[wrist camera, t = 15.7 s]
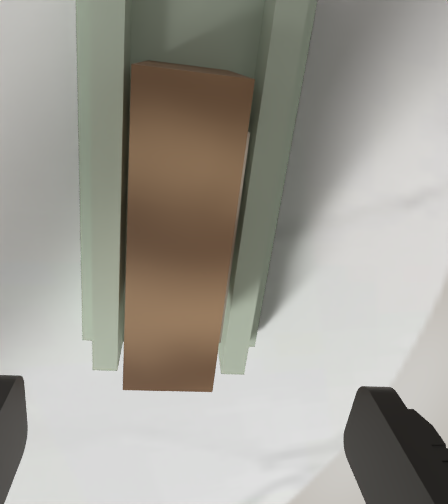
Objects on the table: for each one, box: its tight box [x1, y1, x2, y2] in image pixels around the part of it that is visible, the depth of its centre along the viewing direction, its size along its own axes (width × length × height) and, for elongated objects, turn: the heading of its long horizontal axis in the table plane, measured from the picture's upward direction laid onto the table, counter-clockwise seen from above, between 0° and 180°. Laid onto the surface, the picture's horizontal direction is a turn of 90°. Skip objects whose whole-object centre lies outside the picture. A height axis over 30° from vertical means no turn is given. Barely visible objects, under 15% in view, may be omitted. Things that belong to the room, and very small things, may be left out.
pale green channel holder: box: [76, 0, 317, 375], centre depth 25 cm, size 22×12×4 cm, turn 173°
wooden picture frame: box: [123, 60, 255, 392], centre depth 21 cm, size 14×4×9 cm, turn 173°
